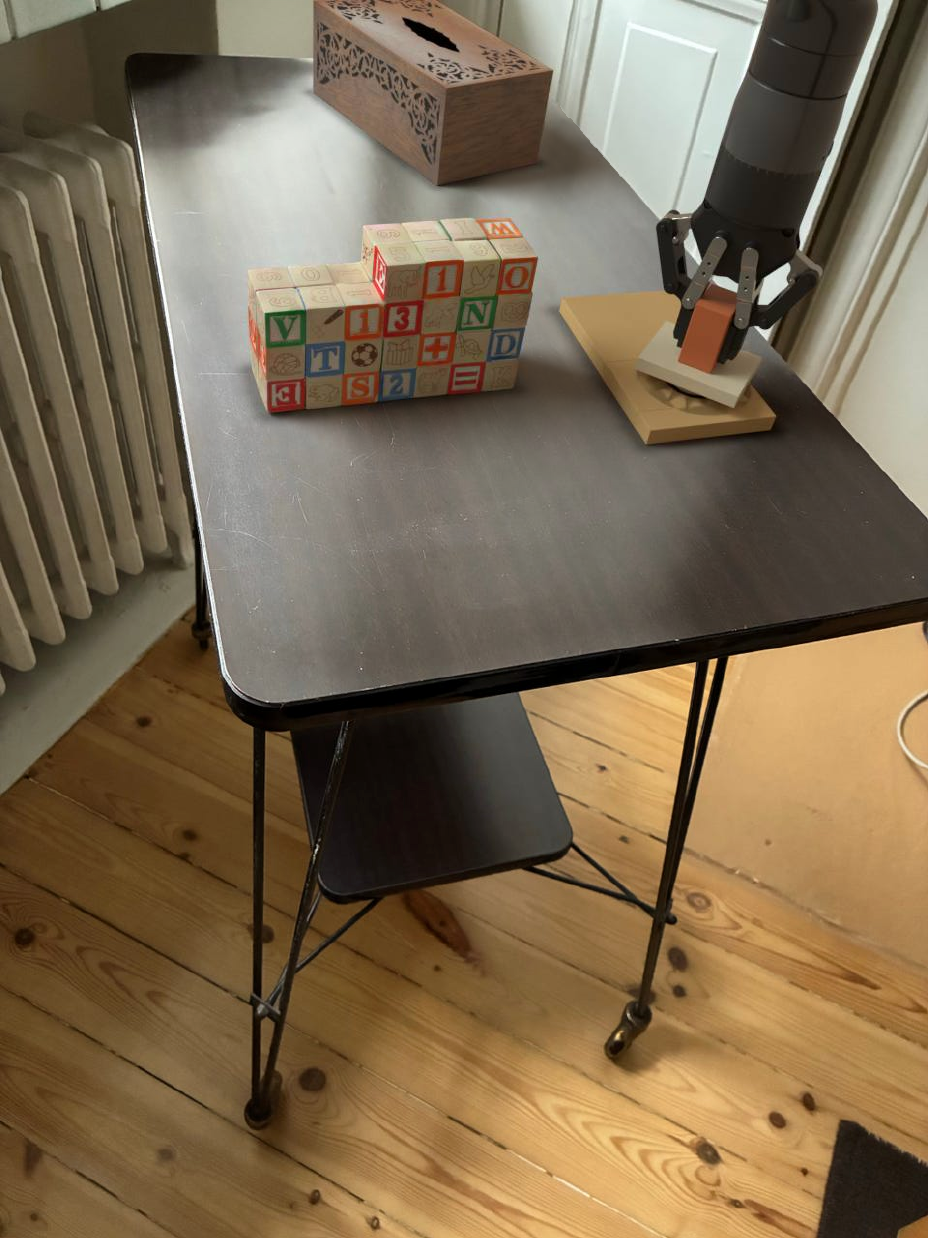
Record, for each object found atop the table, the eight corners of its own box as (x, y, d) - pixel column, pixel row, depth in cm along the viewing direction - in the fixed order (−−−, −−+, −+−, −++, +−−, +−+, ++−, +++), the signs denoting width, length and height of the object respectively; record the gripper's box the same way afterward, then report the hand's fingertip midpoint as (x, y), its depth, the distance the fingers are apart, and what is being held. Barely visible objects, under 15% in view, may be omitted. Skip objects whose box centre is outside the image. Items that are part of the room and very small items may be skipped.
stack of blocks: (266, 416, 78) (260, 273, 69) (250, 370, 82) (243, 229, 72) (515, 388, 84) (540, 254, 75) (490, 346, 88) (511, 214, 79)
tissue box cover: (313, 92, 119) (313, -1, 112) (410, 76, 126) (417, -12, 119) (436, 185, 107) (446, 88, 100) (537, 162, 114) (553, 69, 106)
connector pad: (752, 381, 87) (785, 300, 81) (728, 421, 83) (761, 338, 77) (658, 344, 89) (683, 263, 83) (630, 381, 85) (655, 298, 79)
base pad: (771, 430, 85) (778, 415, 84) (645, 444, 81) (650, 430, 80) (672, 302, 97) (676, 289, 96) (558, 311, 93) (561, 297, 92)
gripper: (666, 131, 70) (611, 342, 83) (858, 195, 67) (769, 404, 80) (700, 100, 75) (643, 304, 88) (880, 158, 71) (793, 361, 84)
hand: (703, 350), depth 84 cm, fingers closed on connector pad, 3 cm apart
